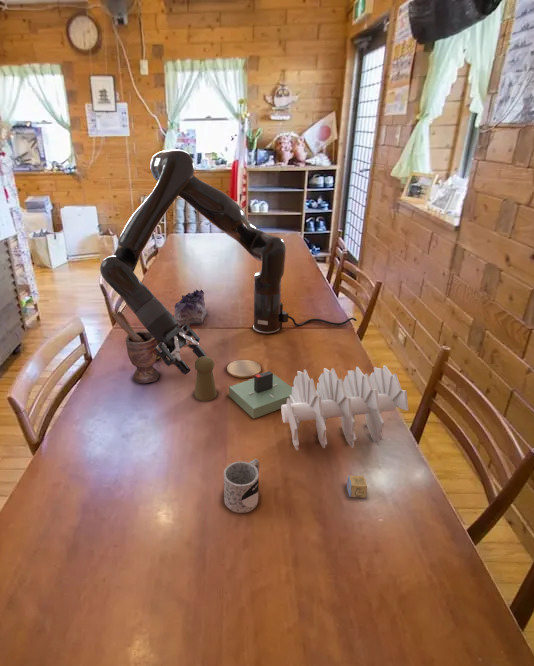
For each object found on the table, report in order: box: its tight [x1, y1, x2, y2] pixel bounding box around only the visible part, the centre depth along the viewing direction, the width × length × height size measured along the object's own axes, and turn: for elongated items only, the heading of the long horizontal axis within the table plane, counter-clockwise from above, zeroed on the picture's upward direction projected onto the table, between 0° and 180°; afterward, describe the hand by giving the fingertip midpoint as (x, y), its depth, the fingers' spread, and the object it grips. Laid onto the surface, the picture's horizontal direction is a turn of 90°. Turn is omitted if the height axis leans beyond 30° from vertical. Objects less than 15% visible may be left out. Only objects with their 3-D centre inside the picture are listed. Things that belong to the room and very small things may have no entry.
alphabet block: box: [346, 475, 368, 498], centre depth 89 cm, size 3×3×3 cm
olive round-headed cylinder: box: [193, 355, 218, 402], centre depth 121 cm, size 6×6×11 cm
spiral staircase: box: [280, 364, 409, 451], centre depth 102 cm, size 18×18×25 cm
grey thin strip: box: [223, 458, 260, 514], centre depth 89 cm, size 10×7×7 cm
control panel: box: [228, 373, 293, 420], centre depth 120 cm, size 14×12×3 cm
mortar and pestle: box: [112, 310, 160, 384], centre depth 127 cm, size 12×9×20 cm
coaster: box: [226, 359, 262, 379], centre depth 135 cm, size 10×10×1 cm
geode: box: [173, 289, 208, 328], centre depth 168 cm, size 20×12×10 cm, turn 174°
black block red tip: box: [253, 370, 274, 393], centre depth 118 cm, size 5×2×5 cm, turn 120°
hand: (196, 365), depth 120 cm, fingers open, 8 cm apart
